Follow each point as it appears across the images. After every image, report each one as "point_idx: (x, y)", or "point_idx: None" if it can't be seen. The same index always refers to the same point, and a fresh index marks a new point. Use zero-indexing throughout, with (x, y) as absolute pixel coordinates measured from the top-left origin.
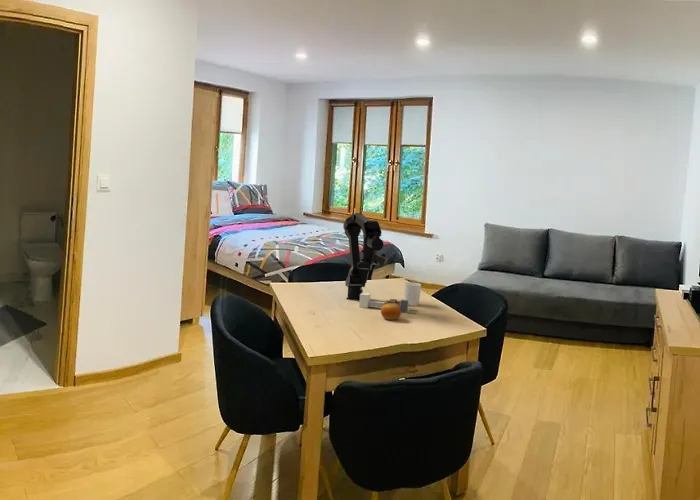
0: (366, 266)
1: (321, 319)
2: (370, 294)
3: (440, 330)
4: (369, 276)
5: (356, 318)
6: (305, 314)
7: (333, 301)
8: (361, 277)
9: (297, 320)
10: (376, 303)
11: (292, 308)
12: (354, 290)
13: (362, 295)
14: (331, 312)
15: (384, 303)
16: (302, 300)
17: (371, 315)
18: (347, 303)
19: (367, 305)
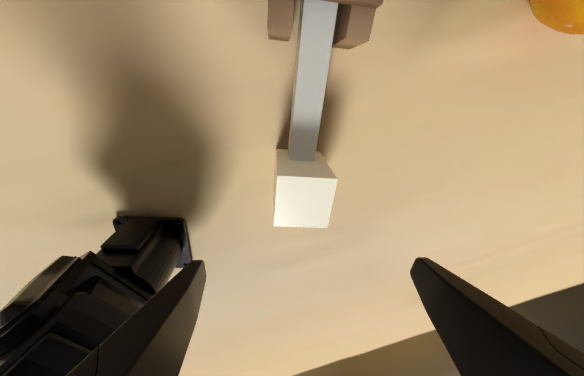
0: None
1: (524, 253)
2: (277, 173)
3: None
4: (192, 304)
5: (526, 158)
6: None
7: (255, 287)
8: (93, 338)
9: (527, 294)
10: (320, 109)
11: (392, 334)
12: (163, 274)
13: (329, 210)
14: (428, 253)
15: (365, 41)
16: (286, 345)
17: (473, 103)
18: (263, 243)
19: (321, 157)
